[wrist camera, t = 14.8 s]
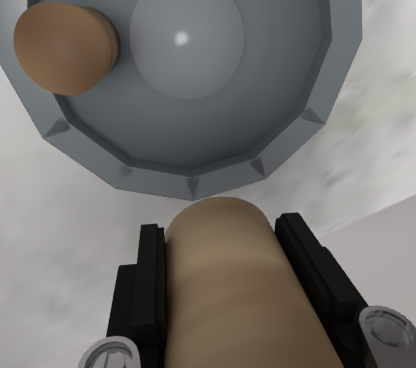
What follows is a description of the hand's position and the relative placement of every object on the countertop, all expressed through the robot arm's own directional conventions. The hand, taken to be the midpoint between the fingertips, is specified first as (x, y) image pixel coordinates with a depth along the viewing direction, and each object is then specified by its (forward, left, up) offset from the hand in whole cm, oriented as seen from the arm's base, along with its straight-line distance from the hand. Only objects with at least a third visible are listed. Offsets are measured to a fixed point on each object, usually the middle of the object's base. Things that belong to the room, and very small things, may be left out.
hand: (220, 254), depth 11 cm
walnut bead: (0, +9, -14) cm, 16 cm away
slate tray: (+4, +4, -15) cm, 16 cm away
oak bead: (0, 0, 0) cm, 0 cm away
